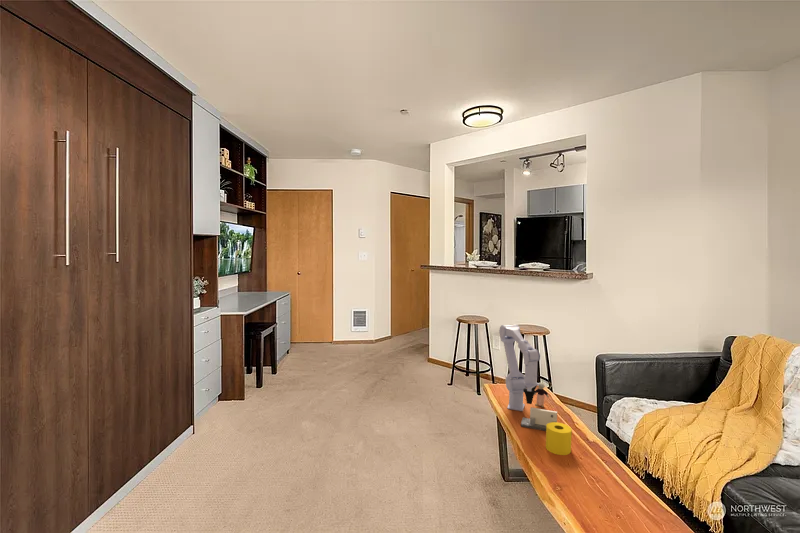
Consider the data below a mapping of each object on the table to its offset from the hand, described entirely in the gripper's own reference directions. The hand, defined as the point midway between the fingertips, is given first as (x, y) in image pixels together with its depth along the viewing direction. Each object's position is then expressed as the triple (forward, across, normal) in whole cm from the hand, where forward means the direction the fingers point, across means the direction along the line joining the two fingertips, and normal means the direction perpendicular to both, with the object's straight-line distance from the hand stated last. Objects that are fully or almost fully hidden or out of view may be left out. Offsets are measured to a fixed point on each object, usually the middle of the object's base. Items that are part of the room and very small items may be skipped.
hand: (530, 400), depth 199 cm
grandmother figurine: (+10, +20, -4) cm, 23 cm away
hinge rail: (+9, -6, -7) cm, 13 cm away
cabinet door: (+8, -6, -7) cm, 12 cm away
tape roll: (+10, -25, -14) cm, 30 cm away
